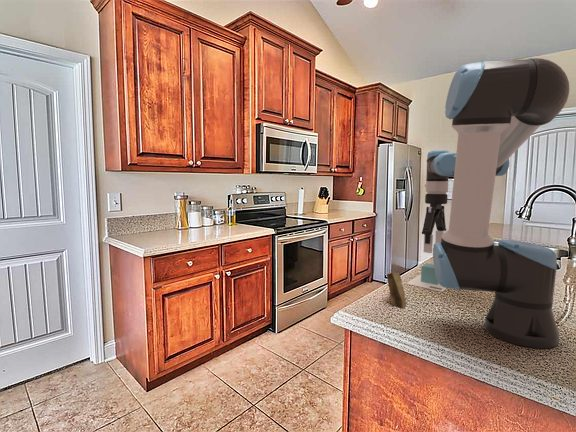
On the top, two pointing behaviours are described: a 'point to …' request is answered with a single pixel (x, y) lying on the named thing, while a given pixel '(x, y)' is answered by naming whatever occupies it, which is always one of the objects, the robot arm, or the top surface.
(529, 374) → the top surface
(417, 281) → the letter
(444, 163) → the robot arm
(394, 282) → the rock
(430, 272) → the teal cube
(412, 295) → the top surface
